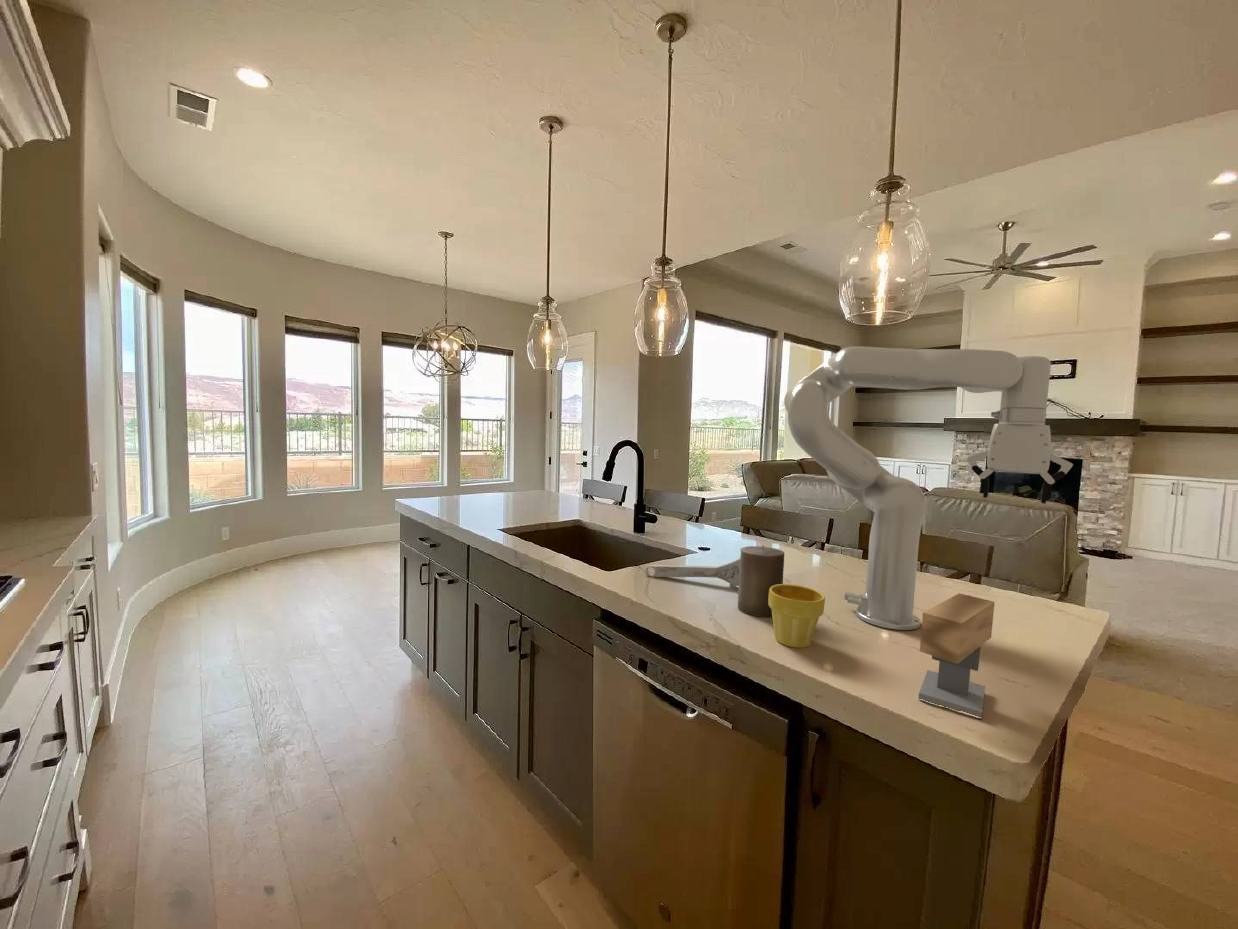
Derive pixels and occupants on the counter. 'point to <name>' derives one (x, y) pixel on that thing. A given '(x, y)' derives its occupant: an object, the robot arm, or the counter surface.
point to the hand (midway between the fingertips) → (1013, 500)
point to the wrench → (700, 571)
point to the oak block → (956, 627)
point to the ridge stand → (955, 685)
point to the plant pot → (795, 613)
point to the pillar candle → (758, 578)
